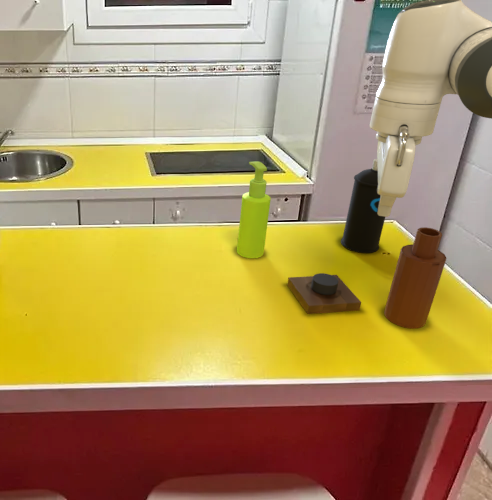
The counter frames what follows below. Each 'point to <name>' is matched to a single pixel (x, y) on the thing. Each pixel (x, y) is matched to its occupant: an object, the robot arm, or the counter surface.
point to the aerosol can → (364, 214)
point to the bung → (324, 284)
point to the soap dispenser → (254, 216)
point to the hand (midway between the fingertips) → (382, 203)
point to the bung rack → (323, 296)
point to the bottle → (416, 280)
